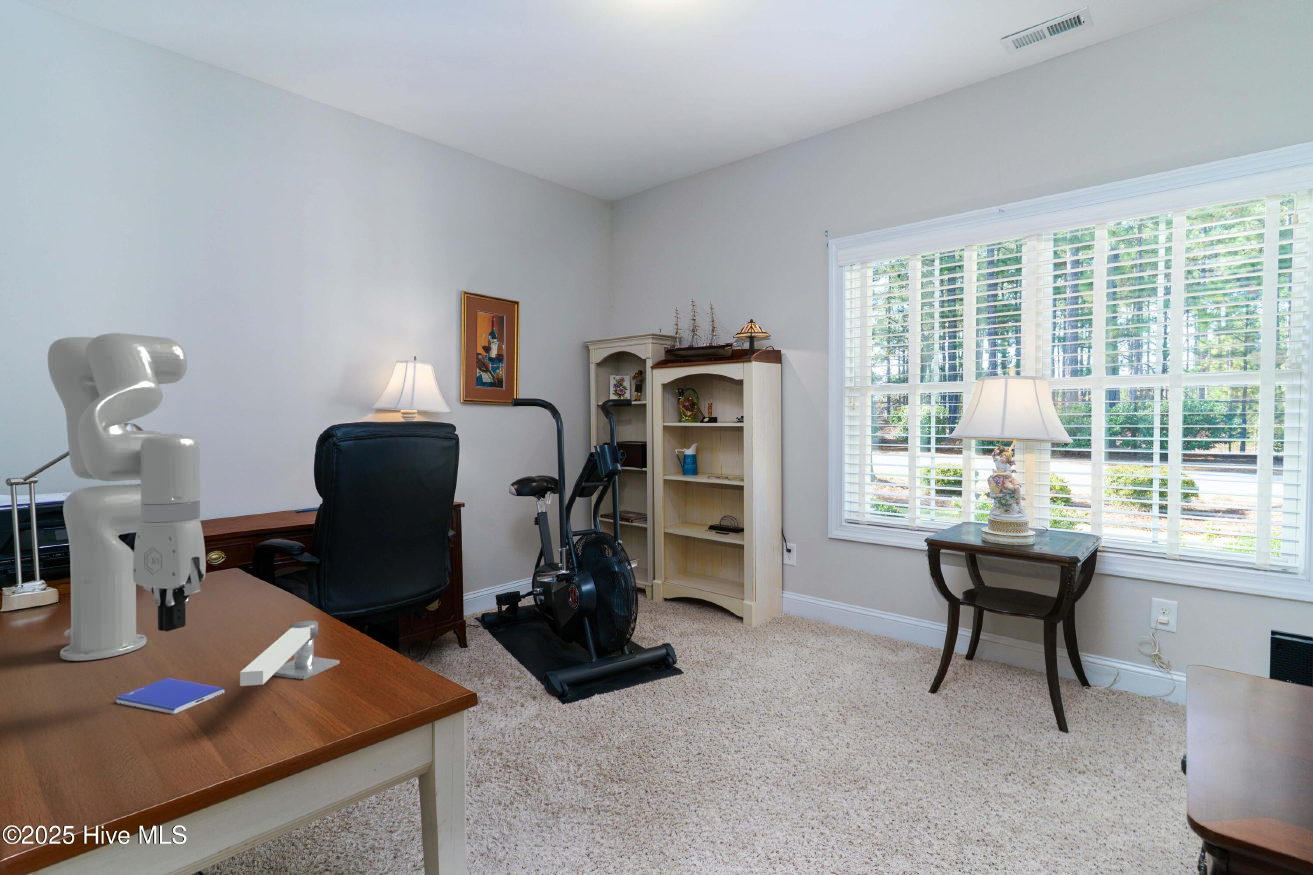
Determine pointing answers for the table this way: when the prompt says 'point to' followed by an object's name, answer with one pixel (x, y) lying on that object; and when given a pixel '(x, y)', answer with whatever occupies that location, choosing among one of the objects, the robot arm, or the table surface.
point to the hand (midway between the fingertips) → (171, 628)
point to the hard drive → (169, 695)
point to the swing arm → (278, 653)
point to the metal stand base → (305, 663)
